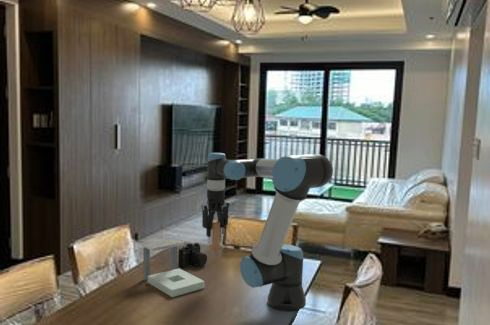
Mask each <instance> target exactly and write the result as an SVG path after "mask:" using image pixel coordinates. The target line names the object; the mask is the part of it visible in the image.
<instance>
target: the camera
mask: <svg viewBox="0 0 490 325" xmlns="http://www.w3.org/2000/svg"><path fill="white" fill-rule="evenodd" d="M182 246H183V247H181V248H179V249H178V254H177V267H178V268H180V269H183V268H186V267H188V266H199V267H204V266H205V265H206V264H207V261H208V256H207V254H206V253H204V252H201V245H200V243H198V242H195V243H191V242H189V243H187V244H186V245H182Z"/></svg>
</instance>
